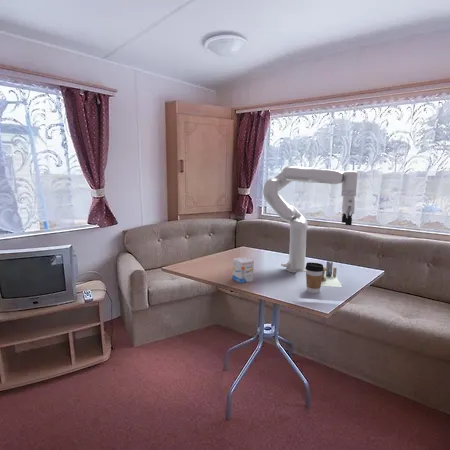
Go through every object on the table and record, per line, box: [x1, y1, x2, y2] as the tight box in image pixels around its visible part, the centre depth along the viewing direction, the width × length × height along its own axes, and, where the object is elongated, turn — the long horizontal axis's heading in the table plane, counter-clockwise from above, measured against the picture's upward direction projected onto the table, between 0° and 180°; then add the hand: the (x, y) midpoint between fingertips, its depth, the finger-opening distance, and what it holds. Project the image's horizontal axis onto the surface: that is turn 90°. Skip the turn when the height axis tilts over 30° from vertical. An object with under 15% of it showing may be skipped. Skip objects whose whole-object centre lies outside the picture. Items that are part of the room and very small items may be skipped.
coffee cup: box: [305, 261, 324, 294], centre depth 150 cm, size 8×8×15 cm
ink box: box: [232, 256, 254, 284], centre depth 169 cm, size 9×8×12 cm
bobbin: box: [321, 266, 327, 282], centre depth 166 cm, size 6×6×6 cm
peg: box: [325, 260, 334, 277], centre depth 173 cm, size 3×3×8 cm
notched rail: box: [324, 266, 338, 277], centre depth 173 cm, size 11×2×5 cm, turn 80°
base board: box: [321, 274, 343, 288], centre depth 166 cm, size 12×19×2 cm, turn 170°
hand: (346, 223), depth 175 cm, fingers open, 9 cm apart
